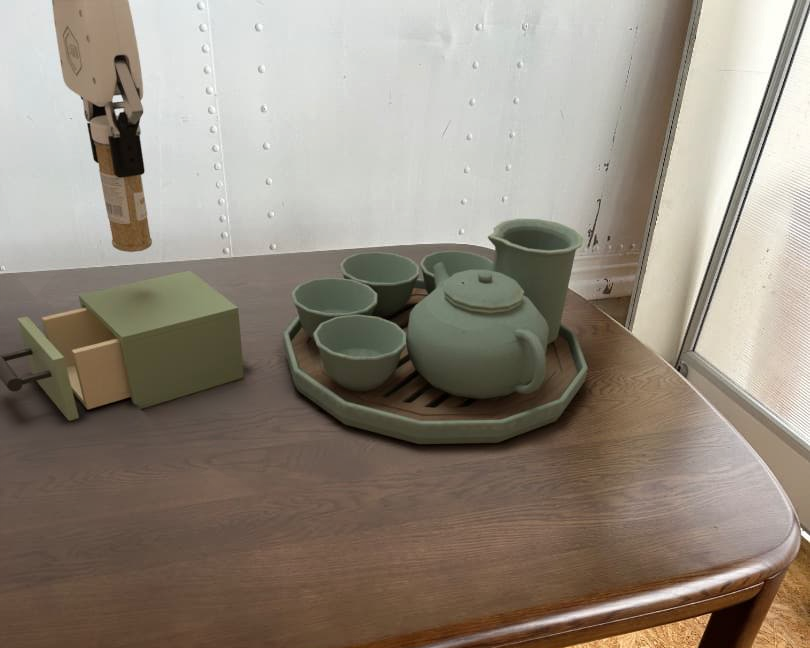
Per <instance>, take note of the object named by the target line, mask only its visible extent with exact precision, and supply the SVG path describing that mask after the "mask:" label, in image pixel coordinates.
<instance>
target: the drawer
mask: <svg viewBox="0 0 810 648" xmlns="http://www.w3.org/2000/svg"><path fill="white" fill-rule="evenodd" d="M16 321H17V324H18V328H19V330H20V334H21V338H22V341H23V344H24V348H23V349H20V350H17V351H12V352H8V353H4V354H0V380H1V381H2V383H3V384H4V385H5V387H6V388H7V390H9V391H10V392H14V393H15V392H19V391H20V390H22V388H23V385H26V384H29V383H33V382H36V383H37V384H38V385H39V387H40V388H41V389H42V390H43V391H44V392H45V394H46V395H47V396H48V397H49V398H50V400H51V401H52V402H53V404H55V406H56V407H57V408H58V409H59V411H60V412H61V413H62V414H63V415H64V417H65V418H66V419H67V421H73V420H77V419H79V418H80V415H79V412H78V408H77V404H76V401H75V397H76V398H77V399H78V400H79V401H80V403H81V404H82V405H83V406H84V408H85V409H86V410H91V409H95V408H98V407H101V406H104V405H108V404H111V403H115V402H118V401H121V400H125V399H128V398H129V399H130V397H131V394H130V389H129V384H128V378H127V373H126V368H125V363H124V358H123V353H122V347H121V342H120V340H119V339H118V338H117V337H116V336H115V335H114V334H113V333H112V332H111V331H110V330H109V329H108V328H107V327H106V326H105V325H104V324H103V323H102V322H101V321H100V320H99V319H98V318H97V317H96V316H95V315H94V314H93V313H92V312H91V311H90V310H89V309H87V308H86V307H85V308H81V307H80V308H77V309H73V310H69V311H68V310H67V311H63V312H59V313H56V314H50V315H46V316H43V317H41V321H42V325H43V329H44V333H45V334H43V332H42V330H40V329H39V328H38V327H37V325H35V323H34V322H33V321H32V320H31V319H30V317H28V316H22V317H18V318H17V320H16ZM24 357H27V360H28V362H29V366H30V368H31V369H30V370H31V373H32V374H29V375H25V376H21V377H19V376H18V375H17V373H16V372H15V371H14V370H13V369H12V367H11V365H9V364H8V362H7V361H12V360H16V359H20V358H24ZM74 395H75V396H74Z"/></svg>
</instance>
